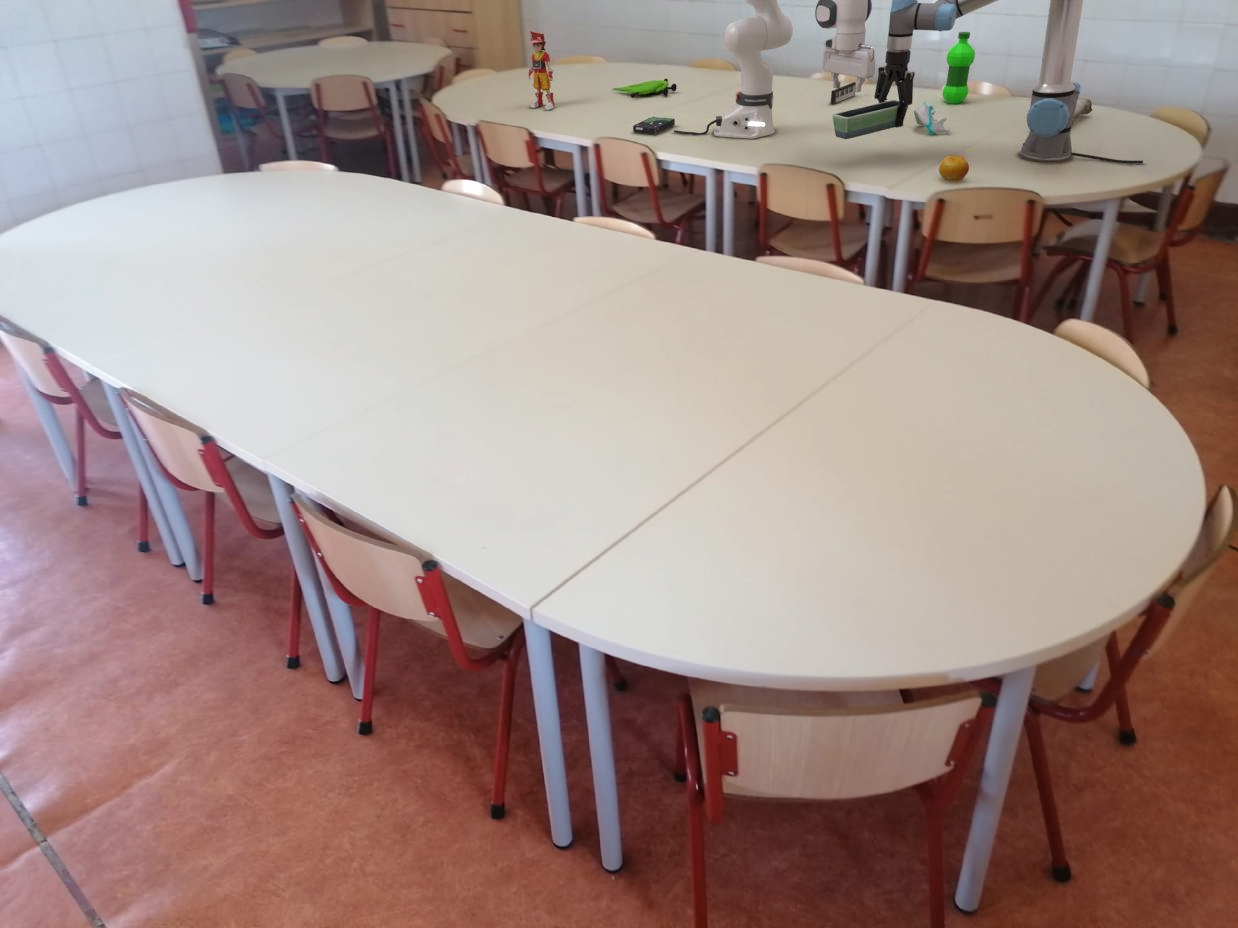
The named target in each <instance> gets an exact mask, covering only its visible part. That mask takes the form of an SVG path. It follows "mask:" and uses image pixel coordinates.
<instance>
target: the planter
mask: <svg viewBox="0 0 1238 928" xmlns="http://www.w3.org/2000/svg"><path fill="white" fill-rule="evenodd" d="M886 101H887V102H882V103H879V102H878V103H873V104H870V105H866V106H861V107H856V108H853V109H849V110H844V111H840V112H835V113H833V114H832V123H833V129H834V135H835V137H837V138H839V139H843V140H850V139H853V138H858V137H862V136H867V135H870V134H874V133H879V132H881V131H885V130H889V129H893V128H896V127H895V125H896V116H897V108H898V106H899V105H900V103H899V100H897V99H891V100H886ZM909 106H910V105H908V106H907V107H906V113H907V112H908V109H909ZM905 118H906V115H905V116H904V119H905Z"/></svg>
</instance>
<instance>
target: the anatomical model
mask: <svg viewBox="0 0 1238 928" xmlns="http://www.w3.org/2000/svg"><path fill="white" fill-rule="evenodd" d="M935 113H936V110H934V107H933V105H930V103H929V102H926V101H924V102H923V104H922V106H920V107H919V108H916V109H914V111H913V115H914V119H915V121H916V124H917V125H918V126H924V127H925V128H926V130H927V132H928V133H929V134H930V135H937V134H939V133H950V132H951V128H946V127H945V126H944V123H945V122H946V121H947V120H948V118H947V117H942V118H940V119H939V120H938V119H935V118H934V117H933V115H934V114H935Z"/></svg>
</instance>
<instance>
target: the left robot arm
mask: <svg viewBox="0 0 1238 928" xmlns="http://www.w3.org/2000/svg"><path fill="white" fill-rule="evenodd" d="M744 1H745V3H747V4H749V5H750V6H752V7H753V8H754V11H755V16H753V17H748V18H747V17H746V18H740V19H738V20H735V21H733V22H730V23H729V24H728V25H727V26H726V28H725V32H724V44H725V47H726V48H727V50H728V52H730V53H731V54H732V55H734V57H735V59H737V60H736V61H737V62H738V64H739V67H740V75H741V90H737V91H736V92H735V103H734V104H733V105H732V106H730V107H729V108H727V110H726V111H724V113H722V114H721V115H716V116H715V119H714V120H712V121H710V122H709V123H708V124H707V125H706V129H705V131H702V132H695V131H684V130H683V131H682V130H676V129H674V130H673V133H674V134H682V135H694V136H702V135H707V133H708V132H709V131H710V127H711V126H712V125H714V124H715V128H714V130H713V135H714V136H715V137H721V138H722V137H723V138H736V139H737V138H738V139H750V140H753V139H754V140H755V139H758V138H761V137H766V136H770V135H773V134H774V133H775V132H776V131H775V127H774V120H773V107H774V91H773V77H774V76H773V75H774V71H773V68H772V67H771V65H770V64H769V63H767V62H766V61H764V60H762V59H763V58H762V55H761V52H762V51H768V50H776V49H779V48H781V47H783V46H786V45H788V44H789V43H790V42H791V39H792V36H793V31H794V30H793V24H792V21H791V20H790V18H789V17H788V16H787V15H786V14H785V13H784V12H783V11H782V9H781V7H780V5H779V2H778V0H744ZM872 9H873V3H872V0H818V1H817V3H816V6H815V12H814V17H815V20H816V23H817V24H818V25H819V27H820V28H822V29H827V30H829V29H836V32H835V36H833V37H830V38H828V39H825V40H824V41H823V47H824V49H823V52H822V53H823V54H822V65H821V66H822V70H823V72H825V73H830V78H831V79H832V80H831V81H832V88H833V89H838V88H840V87H841V81H839V76H840V75H843V76H848V77H854V78H856V81H857V82H856V86H854V92H855V93H861V91H862V86H863V85H864V83H865V81H866V79H871V78H873V77H874V76H875V74H876V56H875V53H876V52H875V49H874V47H872V45H870V44H866V33H867V28H866V22H867V21H868V19H869V17H870V15H871V13H872Z"/></svg>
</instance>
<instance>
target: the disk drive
mask: <svg viewBox="0 0 1238 928" xmlns="http://www.w3.org/2000/svg"><path fill="white" fill-rule="evenodd" d="M675 125H676V120H675V118H671V117H659V116H650V117H648V118H646V119H644V120H642V121H640V122H638V123H635V124H634V125H632V132H633V133H637V134H643V135H644V134H645V135H654V136H655V135H659V134H660V133H663V132H665V131H666V130H668V129H670V128H672V127H674V126H675Z"/></svg>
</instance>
